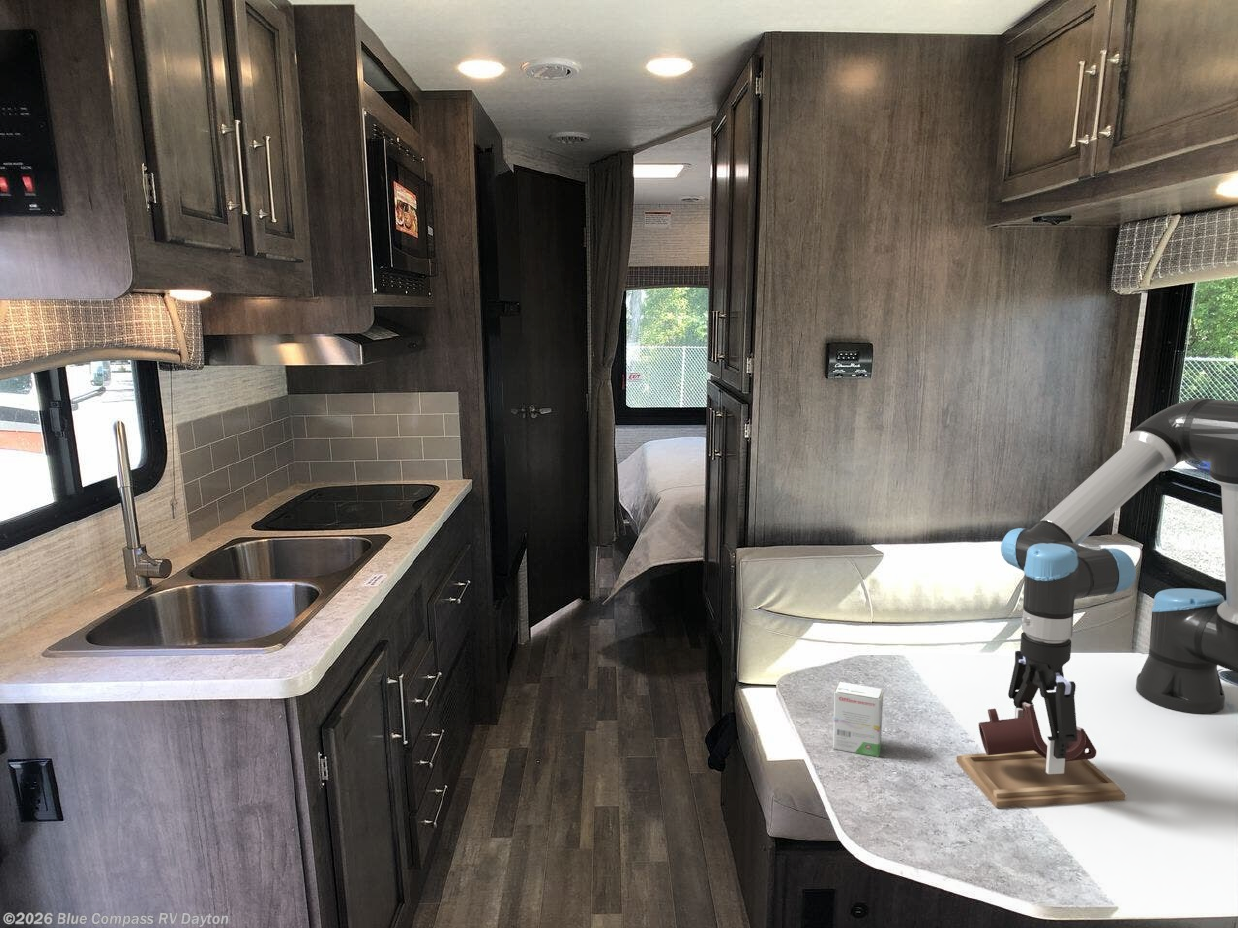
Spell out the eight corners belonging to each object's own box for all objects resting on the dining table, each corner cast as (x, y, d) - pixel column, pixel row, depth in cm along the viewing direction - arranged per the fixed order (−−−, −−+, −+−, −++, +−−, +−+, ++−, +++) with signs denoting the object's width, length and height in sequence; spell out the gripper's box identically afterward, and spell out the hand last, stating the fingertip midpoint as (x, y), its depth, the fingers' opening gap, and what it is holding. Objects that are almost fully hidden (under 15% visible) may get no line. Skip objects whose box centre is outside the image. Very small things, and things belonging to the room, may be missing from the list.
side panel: (1072, 754, 144) (1073, 744, 143) (1124, 800, 130) (1125, 789, 130) (956, 761, 143) (956, 751, 142) (996, 808, 129) (996, 797, 129)
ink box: (832, 749, 149) (833, 691, 147) (836, 735, 153) (837, 680, 151) (879, 758, 145) (880, 699, 143) (882, 744, 150) (884, 687, 148)
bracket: (1102, 760, 129) (1085, 698, 132) (993, 771, 133) (978, 711, 136) (1091, 754, 135) (1075, 695, 137) (987, 765, 139) (973, 707, 141)
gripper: (991, 612, 142) (985, 726, 146) (1063, 663, 121) (1054, 794, 125) (1031, 610, 143) (1024, 724, 146) (1110, 661, 121) (1099, 792, 125)
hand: (1037, 756), depth 136 cm, fingers closed on bracket, 9 cm apart
